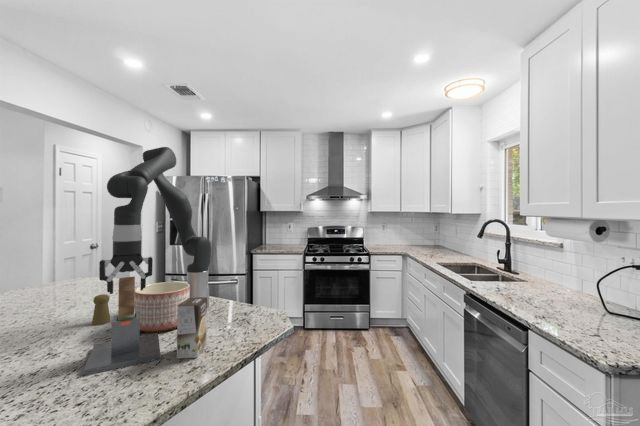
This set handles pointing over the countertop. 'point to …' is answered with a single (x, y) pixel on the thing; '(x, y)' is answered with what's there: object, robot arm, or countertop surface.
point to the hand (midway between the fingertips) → (126, 291)
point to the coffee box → (191, 327)
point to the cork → (101, 310)
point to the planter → (160, 305)
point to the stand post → (126, 298)
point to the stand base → (123, 347)
